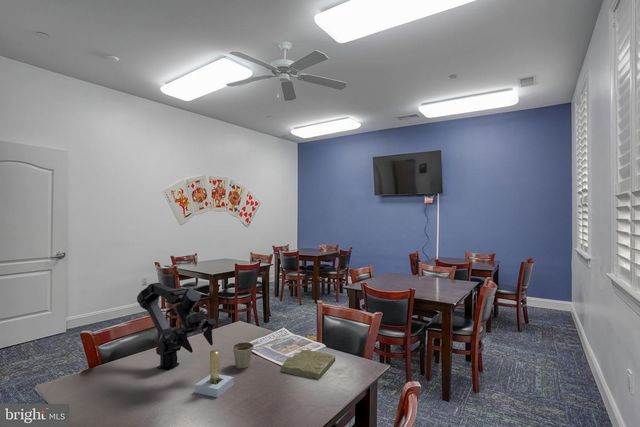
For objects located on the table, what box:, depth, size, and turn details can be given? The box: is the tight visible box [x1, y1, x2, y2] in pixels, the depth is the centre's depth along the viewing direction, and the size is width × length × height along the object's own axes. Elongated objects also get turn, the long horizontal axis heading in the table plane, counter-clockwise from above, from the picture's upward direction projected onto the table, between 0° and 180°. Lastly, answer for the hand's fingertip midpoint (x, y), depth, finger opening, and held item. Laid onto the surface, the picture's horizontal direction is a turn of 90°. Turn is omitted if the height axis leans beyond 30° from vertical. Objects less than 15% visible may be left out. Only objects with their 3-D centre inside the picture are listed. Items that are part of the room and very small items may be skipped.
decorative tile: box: [280, 349, 336, 380], centre depth 151 cm, size 19×20×4 cm
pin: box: [209, 349, 220, 385], centre depth 130 cm, size 3×3×14 cm
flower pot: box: [231, 341, 255, 369], centre depth 150 cm, size 9×9×9 cm
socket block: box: [194, 373, 235, 398], centre depth 130 cm, size 10×10×3 cm
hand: (202, 348), depth 135 cm, fingers open, 9 cm apart
